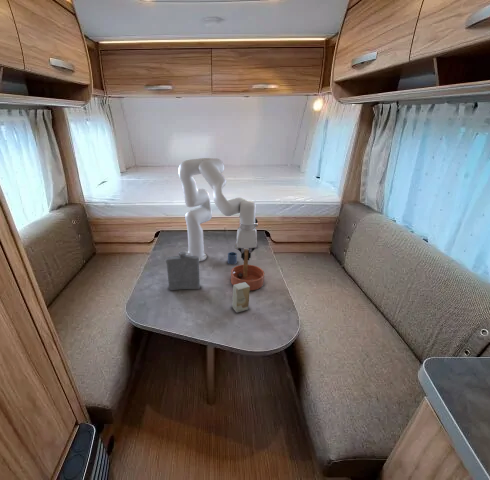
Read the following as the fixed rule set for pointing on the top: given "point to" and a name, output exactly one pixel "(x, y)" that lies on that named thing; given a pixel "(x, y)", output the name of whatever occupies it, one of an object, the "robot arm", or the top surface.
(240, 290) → the cosmetic box
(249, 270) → the bowl
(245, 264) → the stick
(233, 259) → the cup
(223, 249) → the top surface
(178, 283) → the hip flask
